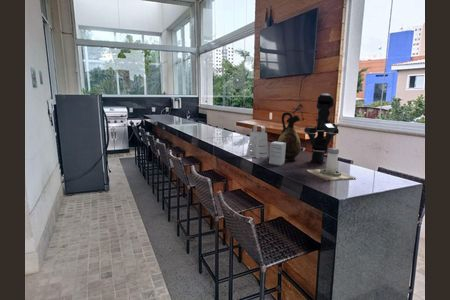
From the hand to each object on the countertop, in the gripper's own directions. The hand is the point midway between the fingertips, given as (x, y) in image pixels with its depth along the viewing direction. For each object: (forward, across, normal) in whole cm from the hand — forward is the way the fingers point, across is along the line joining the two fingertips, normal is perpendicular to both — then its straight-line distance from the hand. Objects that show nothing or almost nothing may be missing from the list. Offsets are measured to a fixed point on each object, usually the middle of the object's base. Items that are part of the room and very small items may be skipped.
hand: (319, 145), depth 153 cm
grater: (+13, -22, +35) cm, 43 cm away
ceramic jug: (+13, -6, +25) cm, 29 cm away
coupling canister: (+12, -2, -14) cm, 19 cm away
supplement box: (+13, -19, +13) cm, 27 cm away
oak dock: (+13, -2, -14) cm, 19 cm away
